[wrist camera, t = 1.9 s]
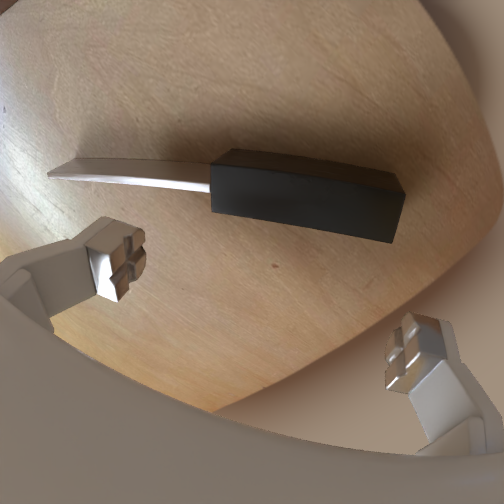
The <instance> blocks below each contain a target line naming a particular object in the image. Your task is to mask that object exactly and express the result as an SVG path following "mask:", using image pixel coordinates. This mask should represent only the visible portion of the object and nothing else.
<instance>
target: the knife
mask: <svg viewBox="0 0 504 504" xmlns="http://www.w3.org/2000/svg"><path fill="white" fill-rule="evenodd" d="M47 175H48V179H63V180H80V181H95V182H109V183H121V184H133V185H144V186H154V187H164V188H173V189H182V190H191V191H199V192H207V193H211V208H212V212H215V213H221V214H228V215H234V216H241V217H247V218H253V219H259V220H265V221H271V222H277V223H283V224H289V225H295V226H300V227H306V228H312V229H317V230H323V231H328V232H334V233H339V234H344V235H350V236H355V237H360V238H365V239H370V240H375V241H380V242H385V243H390V244H392V242H393V239H394V236H395V233H396V229H397V226H398V222H399V219H400V215H401V212H402V208H403V204H404V200H405V197H406V194H405V192H404V190H403V188H402V186H401V184H400V182H399V180H398V178H397V176H396V174H394V173H389V172H385V171H380V170H375V169H370V168H366V167H361V166H355V165H350V164H345V163H339V162H333V161H327V160H321V159H315V158H308V157H302V156H294V155H287V154H279V153H271V152H262V151H253V150H243V149H230V150H229V151H227V152H226V153H225V154H223V155H222V156H220V157H219V158H217V159H216V160H215V161H213V162H212V163H211V164H203V163H191V162H177V161H160V160H138V159H73V160H71V161H69V162H67V163H65V164H63V165H61V166H59V167H57V168H55V169H53V170H51V171H49V172H48V173H47Z"/></svg>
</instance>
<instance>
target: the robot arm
mask: <svg viewBox="0 0 504 504" xmlns="http://www.w3.org/2000/svg"><path fill="white" fill-rule="evenodd" d="M144 242H145V232H144V231H143V230H142V229H141V228H138V227H135V226H133V225H130V224H127V223H124V222H121V221H118V220H115V219H112V218H109V217H106V216H104V217H100V218H99V219H98V220H96V221H95V222H94V223H92V224H91V225H90V226H88V227H87V228H86V229H84V230H83V231H82V232H81V233H79V234H78V235H77V236H75V237H74V238H73V239H72V240H69V239H65V240H62V241H58V242H55V243H51V244H48V245H44V246H41V247H38V248H34V249H31V250H28V251H24V252H21V253H18V254H15V255H12V256H8V257H7V258H5V259H4V260H3V261H2V262H1V263H0V504H504V429H503V422H502V416H501V415H500V413H499V412H498V410H497V409H496V407H495V406H494V404H493V403H492V401H491V400H490V398H489V397H488V395H487V394H486V393H485V391H484V390H483V388H482V387H481V385H480V384H479V383H478V381H477V380H476V378H475V377H474V376H473V374H472V373H471V371H470V370H469V369H468V368H467V366H466V365H465V364H464V363H461V359H460V355H459V351H458V347H457V343H456V339H455V335H454V331H453V327H452V325H451V323H450V322H449V321H444V320H441V319H437V318H436V319H435V318H431V317H428V316H424V315H421V314H417V313H414V312H410V311H409V312H407V313H406V314H405V315H404V317H403V318H402V319H401V324H402V326H401V327H399V328H398V329H395V330H394V331H393V332H392V334H391V335H390V337H389V339H388V342H387V344H386V349H385V360H386V362H387V363H388V364H389V367H388V369H387V370H386V371H385V378H386V379H385V383H386V384H385V386H386V390H391V391H395V392H400V393H405V394H409V395H408V396H409V399H410V400H411V402H412V405H413V407H414V409H415V411H416V414H417V416H418V418H419V420H420V422H421V425H422V427H423V429H424V432H425V434H426V436H427V438H428V440H429V443H430V444H429V445H427V446H425V447H424V448H422V449H420V450H419V451H418V452H417V453H416V455H403V454H390V453H381V452H371V451H364V450H356V449H350V448H343V447H337V446H332V445H326V444H321V443H316V442H311V441H307V440H301V439H298V438H293V437H289V436H285V435H281V434H278V433H274V432H270V431H266V430H263V429H259V428H256V427H252V426H249V425H246V424H243V423H239V422H237V421H233V420H230V419H227V418H225V417H222V416H219V415H216V414H213V413H210V412H208V411H205V410H202V409H200V408H197V407H194V406H192V405H189V404H187V403H184V402H182V401H179V400H177V399H175V398H172V397H170V396H168V395H165V394H163V393H161V392H159V391H156V390H154V389H152V388H150V387H148V386H146V385H143V384H141V383H139V382H137V381H135V380H133V379H131V378H129V377H127V376H125V375H123V374H121V373H119V372H117V371H115V370H114V369H112V368H110V367H108V366H106V365H104V364H103V363H101V362H99V361H97V360H95V359H94V358H92V357H90V356H88V355H87V354H85V353H83V352H82V351H80V350H78V349H77V348H75V347H73V346H72V345H70V344H69V343H67V342H65V341H64V340H62V339H61V338H59V337H58V336H56V335H55V334H53V333H54V327H53V325H52V323H51V321H50V319H49V318H50V317H52V316H54V315H56V314H58V313H60V312H62V311H64V310H66V309H68V308H70V307H72V306H74V305H76V304H78V303H80V302H82V301H85V300H87V299H89V298H91V297H93V296H95V295H96V293H97V294H99V295H101V296H103V297H106V298H108V299H110V300H113V301H115V302H117V303H118V301H119V300H120V299H121V298H122V297H123V296H124V294H125V293H126V292H127V291H128V290H129V283H130V282H133V281H136V280H137V279H138V278H139V277H140V276H141V275H142V272H143V270H144V268H145V265H146V252H145V250H144V249H143V247H142V244H143V243H144Z"/></svg>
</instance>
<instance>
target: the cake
mask: <svg viewBox="0 0 504 504" xmlns="http://www.w3.org/2000/svg"><path fill="white" fill-rule="evenodd" d="M16 1H18V0H0V15H1V14H2V13H3V12H4V11H5V10H7V9H8V8H9V7H10V6H11V5H13V4H14V3H15V2H16Z"/></svg>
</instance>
